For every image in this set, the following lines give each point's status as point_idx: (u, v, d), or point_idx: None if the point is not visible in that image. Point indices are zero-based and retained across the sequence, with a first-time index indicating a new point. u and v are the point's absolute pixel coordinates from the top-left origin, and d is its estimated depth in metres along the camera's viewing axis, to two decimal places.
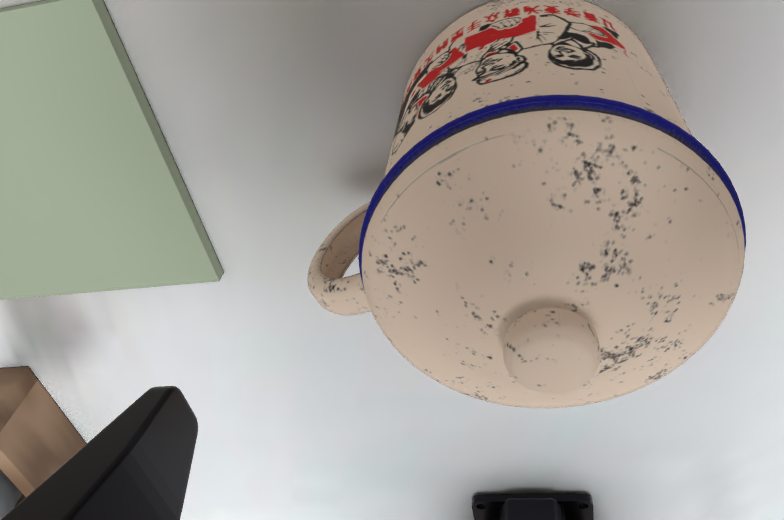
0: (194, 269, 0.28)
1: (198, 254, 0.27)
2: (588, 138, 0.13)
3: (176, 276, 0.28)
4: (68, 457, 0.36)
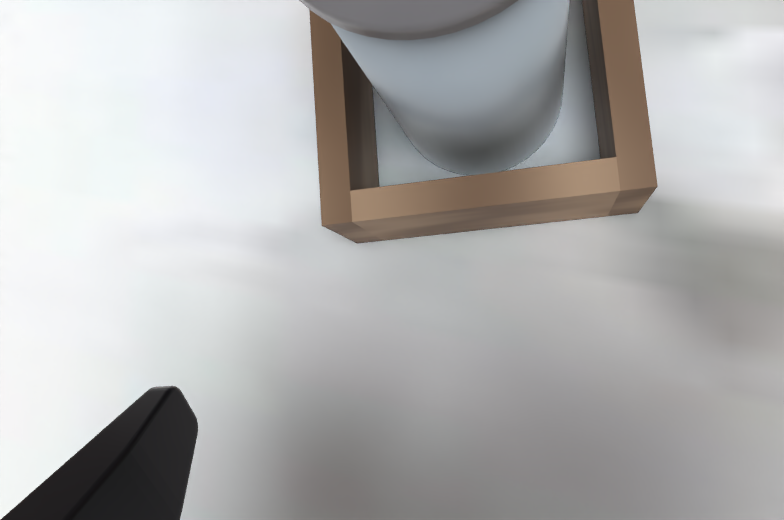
0: None
1: None
2: None
3: None
4: (463, 224, 0.22)
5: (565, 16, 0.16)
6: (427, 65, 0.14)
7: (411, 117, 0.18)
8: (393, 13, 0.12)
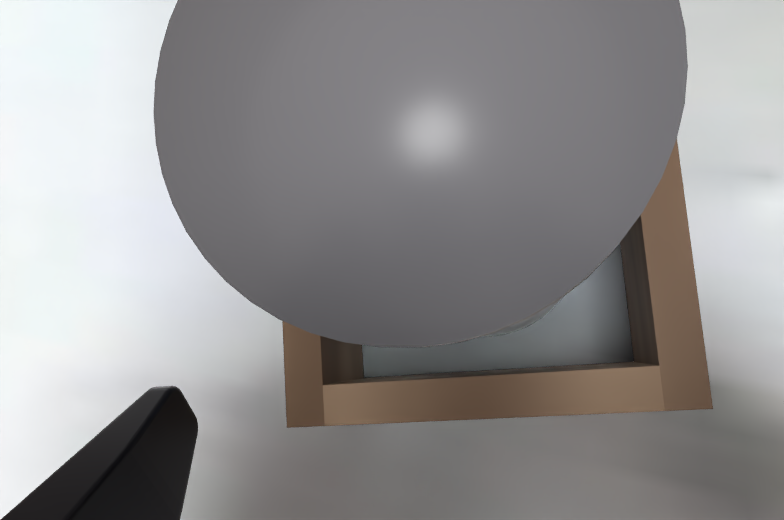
0: None
1: None
2: None
3: None
4: None
5: None
6: None
7: None
8: (365, 330, 0.08)
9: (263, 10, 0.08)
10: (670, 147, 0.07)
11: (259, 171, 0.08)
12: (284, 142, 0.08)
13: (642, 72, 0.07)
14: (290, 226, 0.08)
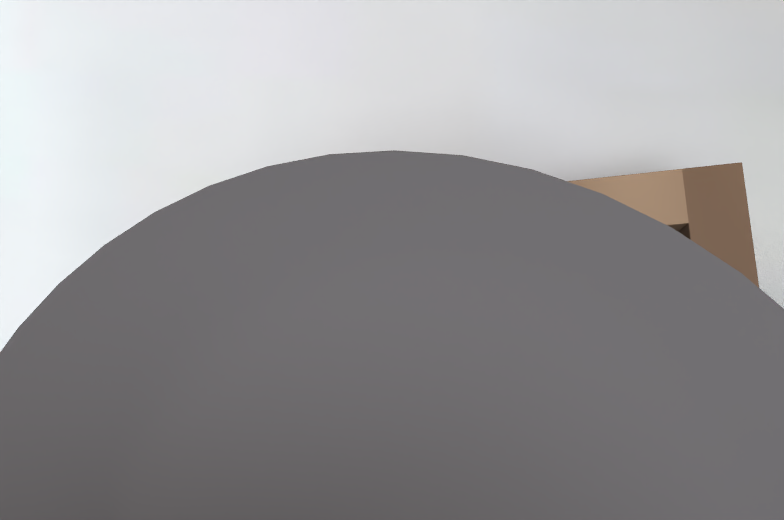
0: None
1: None
2: None
3: None
4: None
5: None
6: None
7: None
8: None
9: (96, 499, 0.04)
10: None
11: None
12: None
13: None
14: None
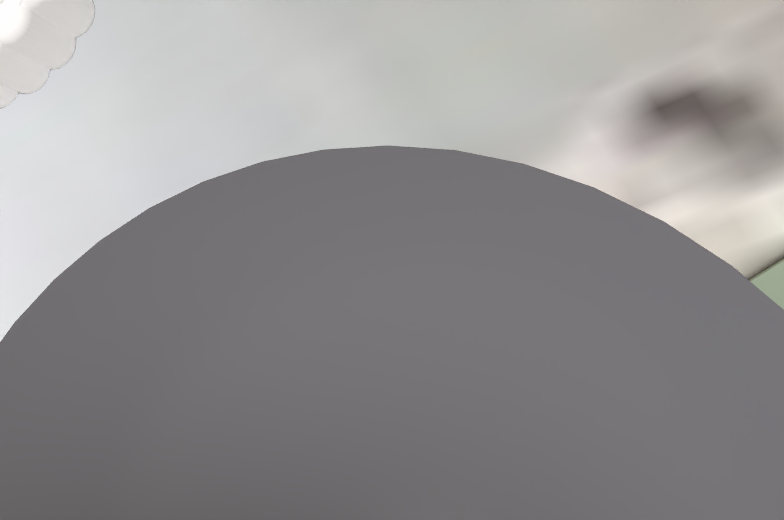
0: None
1: None
2: None
3: None
4: None
5: None
6: None
7: None
8: None
9: (91, 493, 0.04)
10: None
11: None
12: None
13: None
14: None
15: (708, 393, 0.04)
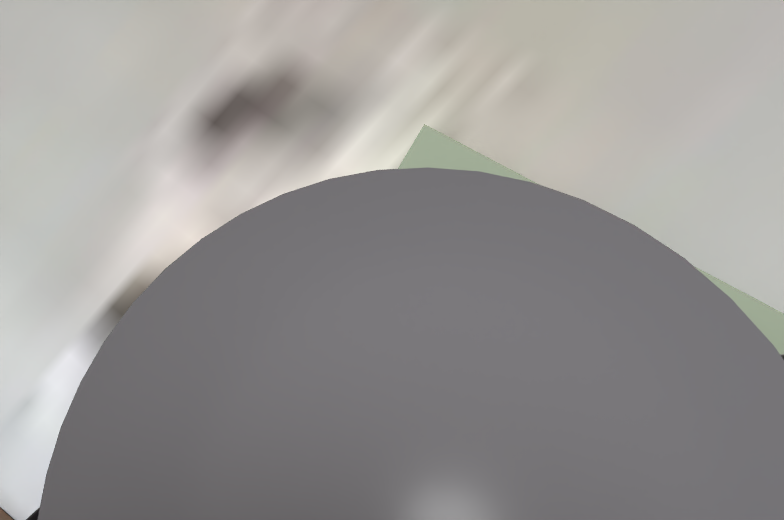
0: None
1: None
2: None
3: None
4: None
5: None
6: None
7: None
8: None
9: (197, 432, 0.06)
10: None
11: None
12: None
13: None
14: None
15: (666, 351, 0.05)
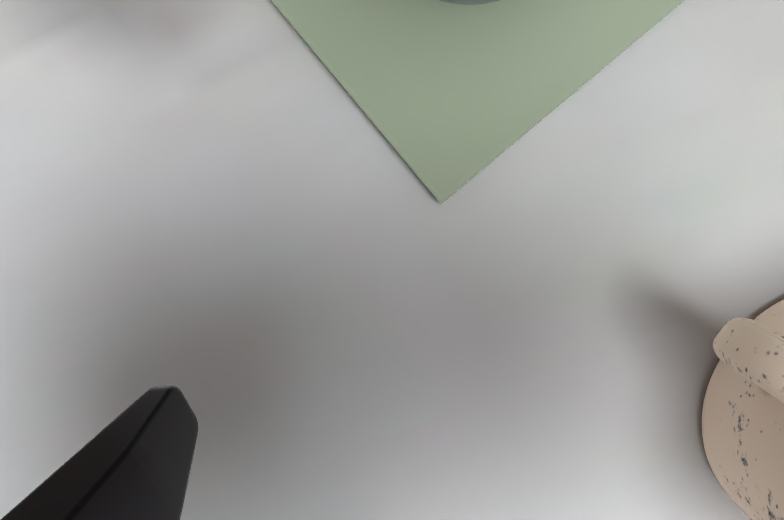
0: (441, 164, 0.19)
1: (472, 160, 0.19)
2: None
3: (412, 144, 0.18)
4: None
5: None
6: None
7: None
8: None
9: None
10: None
11: None
12: None
13: None
14: None
15: None
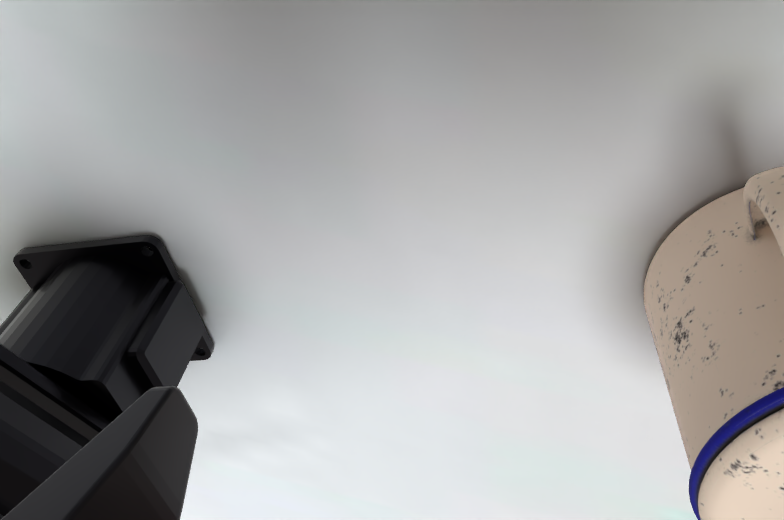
0: None
1: None
2: None
3: None
4: None
5: None
6: None
7: None
8: None
9: None
10: None
11: None
12: None
13: None
14: None
15: None
